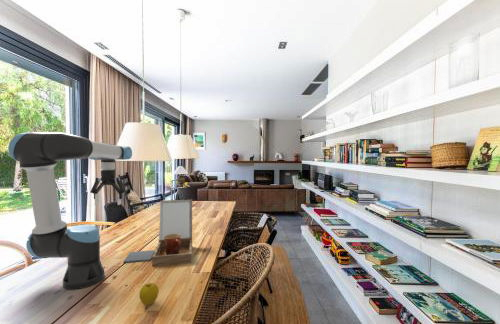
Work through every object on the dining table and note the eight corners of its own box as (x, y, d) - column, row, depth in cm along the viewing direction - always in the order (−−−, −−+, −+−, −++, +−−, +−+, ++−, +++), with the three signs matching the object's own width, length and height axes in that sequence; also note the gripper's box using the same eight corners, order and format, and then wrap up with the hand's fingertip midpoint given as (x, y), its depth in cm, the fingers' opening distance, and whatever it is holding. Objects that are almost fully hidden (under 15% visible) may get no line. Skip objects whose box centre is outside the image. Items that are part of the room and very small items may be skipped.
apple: (135, 307, 87) (135, 285, 87) (148, 297, 93) (148, 277, 93) (149, 311, 85) (149, 288, 84) (162, 301, 90) (162, 279, 90)
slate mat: (150, 260, 127) (150, 259, 127) (123, 263, 124) (123, 261, 124) (154, 251, 139) (154, 250, 139) (130, 253, 137) (130, 252, 137)
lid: (192, 199, 154) (192, 199, 155) (160, 200, 150) (160, 201, 151) (192, 237, 147) (192, 237, 148) (158, 239, 143) (159, 240, 144)
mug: (161, 254, 135) (161, 236, 134) (175, 250, 141) (175, 232, 141) (172, 260, 126) (172, 241, 126) (187, 256, 133) (186, 237, 133)
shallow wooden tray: (191, 262, 124) (191, 251, 124) (152, 266, 120) (152, 255, 120) (192, 246, 147) (192, 237, 147) (159, 249, 143) (158, 239, 143)
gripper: (131, 169, 151) (131, 203, 151) (91, 169, 151) (91, 203, 151) (125, 169, 144) (125, 205, 144) (83, 169, 144) (83, 205, 144)
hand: (108, 204), depth 147 cm, fingers open, 13 cm apart
